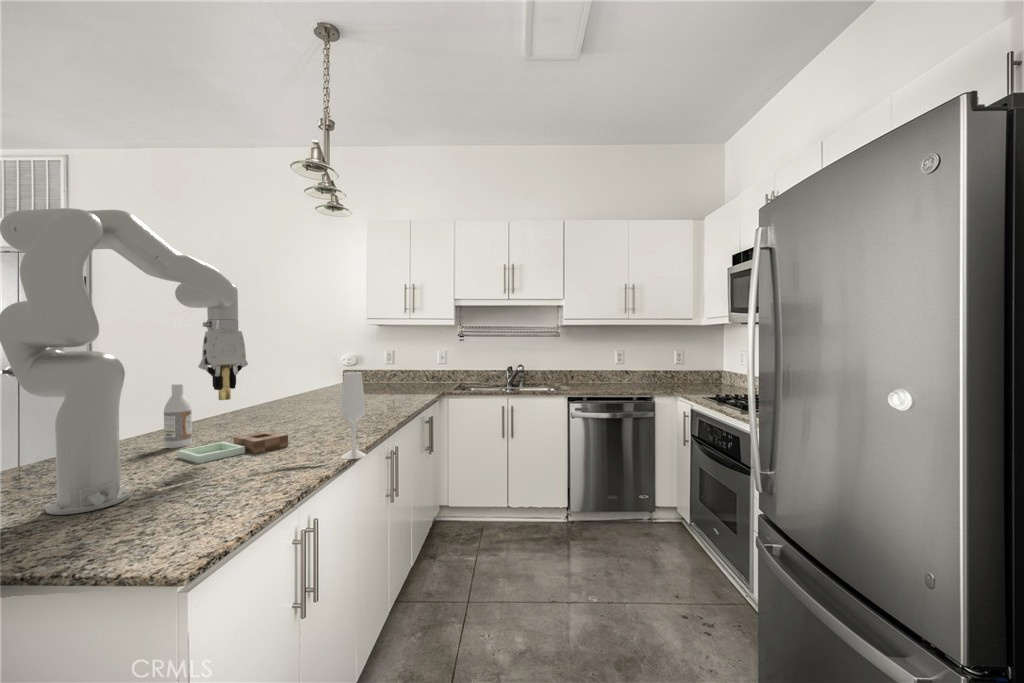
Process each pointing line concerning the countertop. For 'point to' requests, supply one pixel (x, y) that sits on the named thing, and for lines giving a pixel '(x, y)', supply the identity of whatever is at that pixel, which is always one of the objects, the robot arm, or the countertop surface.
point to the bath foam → (177, 419)
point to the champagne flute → (353, 407)
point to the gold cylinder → (225, 383)
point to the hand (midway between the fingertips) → (224, 388)
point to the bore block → (262, 441)
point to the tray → (211, 452)
